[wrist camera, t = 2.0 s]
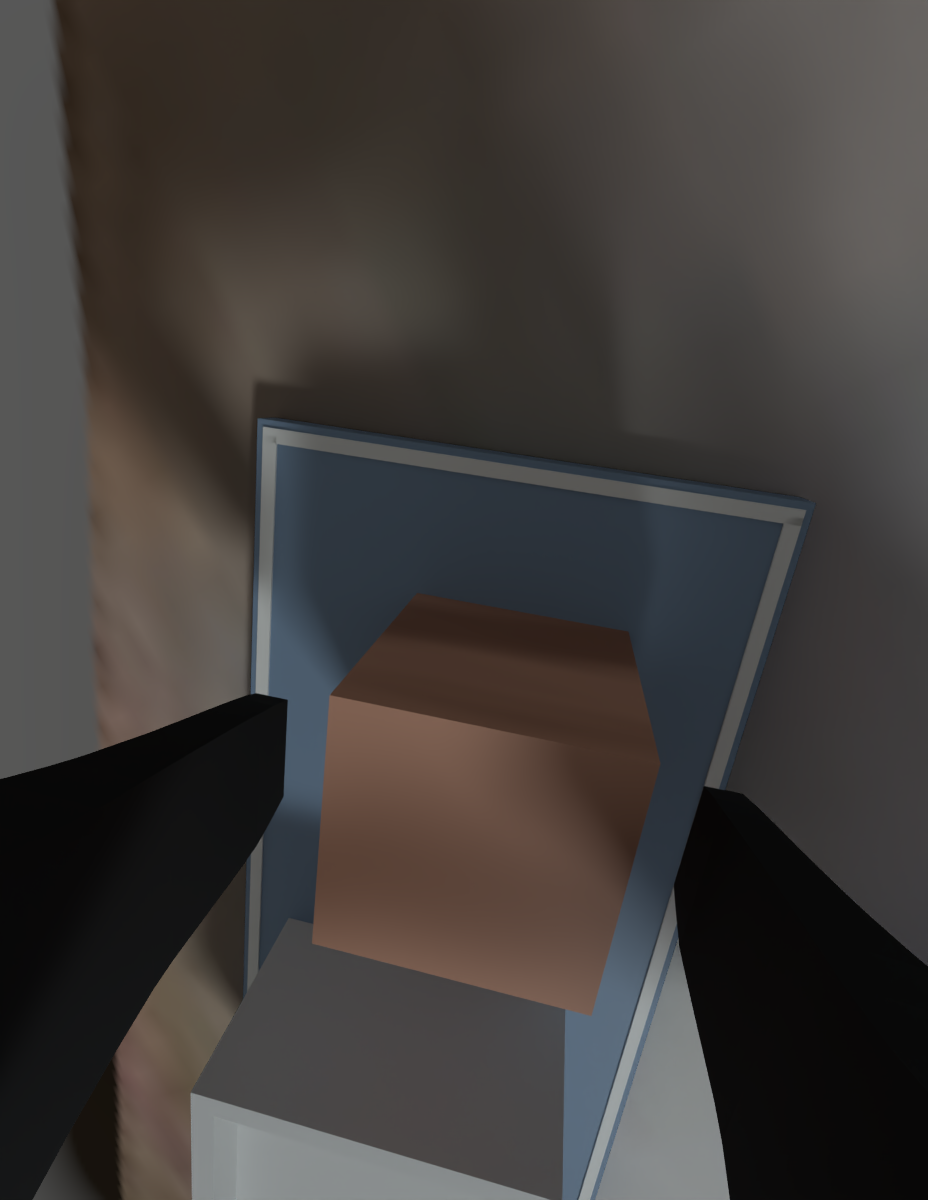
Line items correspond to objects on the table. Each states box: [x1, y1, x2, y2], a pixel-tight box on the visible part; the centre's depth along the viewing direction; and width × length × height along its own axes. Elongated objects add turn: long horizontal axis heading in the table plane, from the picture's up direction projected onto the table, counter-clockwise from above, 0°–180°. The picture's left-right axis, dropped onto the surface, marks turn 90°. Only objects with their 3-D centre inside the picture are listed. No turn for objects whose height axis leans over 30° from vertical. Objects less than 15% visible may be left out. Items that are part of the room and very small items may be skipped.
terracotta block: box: [312, 593, 660, 1016], centre depth 11 cm, size 4×4×5 cm
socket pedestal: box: [191, 918, 565, 1200], centre depth 15 cm, size 8×8×4 cm
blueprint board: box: [243, 418, 816, 1200], centre depth 16 cm, size 22×11×1 cm, turn 172°
